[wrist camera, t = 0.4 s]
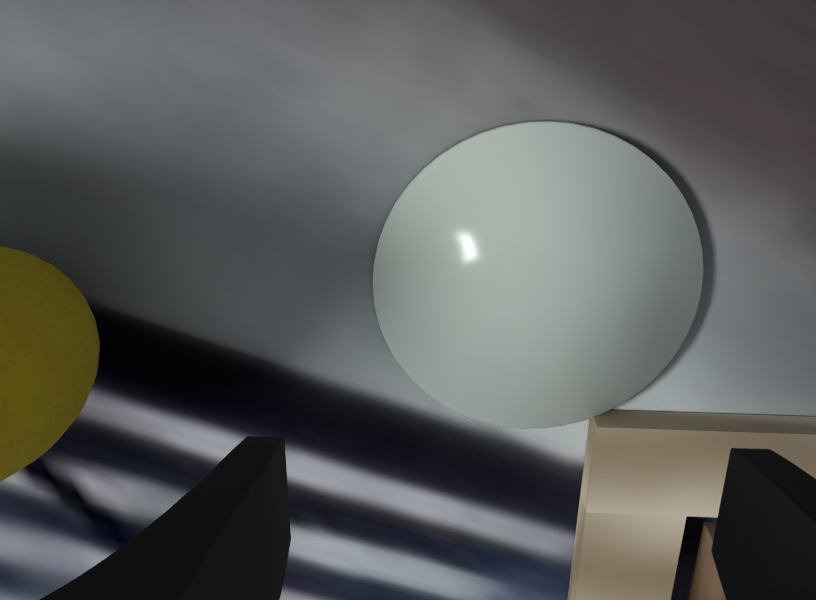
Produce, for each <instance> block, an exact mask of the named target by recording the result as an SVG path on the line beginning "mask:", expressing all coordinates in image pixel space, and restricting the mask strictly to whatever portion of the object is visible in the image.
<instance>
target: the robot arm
mask: <svg viewBox="0 0 816 600" xmlns="http://www.w3.org/2000/svg"><path fill="white" fill-rule="evenodd" d="M290 541H291V534H290V518H289V503H288V487H287V472H286V457H285V441H284V437H254V436H247V437H246V438H245V439H244V440H243V441H242V442H241V443H240V444H238V445H237V446H236V447H235V448H234V449H233V450H232V451H231V452H230V453H229V454H228V455H227V456H226V457H225V458H224V459H223V460H222V461H221V462H219V463H218V464H217V465H216V466H215V467H214V468H213V469H212V470H211V471H210V472H209V473H208V474H207V475H206V476H205V477H204V478H203V479H202V480H201V481H200V482H199V483H197V484H196V485H195V486H194V487H193V488H192V489H191V490H190V491H189V492H188V493H186V494H185V495H184V496H183V497H182V498H181V499H180V500H179V501H178V502H177V503H175V504H174V505H173V506H172V507H171V508H170V509H169V510H167V511H166V512H165V513H164V514H163V515H161V516H160V517H159V518H158V519H156V520H155V521H154V522H153V523H152V524H150V525H149V526H148V527H147V528H145V529H144V530H143V531H142V532H141V533H139V534H138V535H137V536H136V537H134V538H133V539H132V540H131V541H129V542H128V543H127V544H125V545H124V546H123V547H121V548H120V549H118V550H117V551H116V552H114V553H113V554H111V555H110V556H109V557H107V558H106V559H104V560H103V561H101V562H100V563H98V564H97V565H95V566H94V567H92V568H91V569H89V570H88V571H86V572H85V573H83V574H82V575H81V576H79V577H77V578H76V579H74V580H73V581H71V582H69V583H68V584H66V585H64V586H63V587H61V588H59V589H57V590H56V591H54V592H52V593H50V594H49V595H47V596H45V597H43V598H42V599H40V600H279V599H280V595H281V590H282V585H283V580H284V575H285V570H286V564H287V558H288V552H289V547H290ZM711 552H712V555H713V559H714V562H715V565H716V569H717V572H718V575H719V579H720V582H721V585H722V588H723V591H724V594H725V597H726V600H816V479H815V478H814V477H812V476H811V475H809V474H808V473H806V472H805V471H803V470H802V469H801V468H799V467H798V466H796V465H795V464H793V463H792V462H790V461H789V460H787V459H785V458H784V457H782V456H781V455H779V454H777V453H776V452H774V451H772V450H770V449H749V448H731V450H730V455H729V460H728V466H727V471H726V476H725V481H724V487H723V492H722V497H721V502H720V507H719V513H718V518H717V523H716V528H715V534H714V539H713V544H712V549H711Z"/></svg>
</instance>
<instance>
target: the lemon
mask: <svg viewBox="0 0 816 600" xmlns="http://www.w3.org/2000/svg"><path fill="white" fill-rule="evenodd" d="M99 349H100V341H99V336H98V331H97V326H96V321H95V318H94V315H93V313H92V311H91V309H90V307H89V305H88V303H87V301H86V298H85V297H84V296H83V294H82V293H81V292H80V290H79V289H78V288H77V287H76V285H75V284H74V283H73V282H72V280H71V279H69V278H68V277H67V276H66V275H65V274H63V273H62V272H61V271H60V270H59V269H57V268H56V267H55V266H54V265H52V264H50V263H48V262H46V261H44V260H42V259H40V258H38V257H37V256H35V255H32V254H30V253H27V252H23V251H20V250H16V249H13V248H9V247H6V246H0V482H1V481H3V480H4V479H6V478H8V477H9V476H11V475H12V474H14V473H16V472H17V471H19V470H20V469H22V468H24V467H25V466H27V465H28V464H30V463H32V462H33V461H35V460H36V459H37V458H39V457H40V456H41V455H43V454H44V453H45V452H46V451H47V450H48V449H50V448H51V447H52V446H53V445H54V444H55V443H56V441H57V440H58V439H59V438H60V437H61V436H62V435H63V433H64V432H65V431H66V430H67V429H68V427H69V426H70V425H71V424H72V423H73V421H74V420H75V419H76V418H77V416H78V415H79V413H80V412H81V410H82V408H83V407H84V404H85V402H86V400H87V397H88V395H89V393H90V390H91V388H92V385H93V383H94V380H95V378H96V374H97V370H98V360H99Z"/></svg>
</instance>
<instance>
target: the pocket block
mask: <svg viewBox="0 0 816 600" xmlns="http://www.w3.org/2000/svg"><path fill="white" fill-rule="evenodd" d="M731 448H749V449H770V450H772V451H774V452H776V453H777V454H779V455H781V456H782V457H784V458H785V459H787V460H789V461H790V462H792V463H793V464H795V465H796V466H798V467H799V468H801V469H802V470H803V471H805V472H806V473H808V474H809V475H811V476H812V477H814V478H815V479H816V417H807V416H778V415H748V414H718V413H688V412H658V411H628V410H608V411H606V412H604V413H602V414H600V415H597V416H593V417H592V418H590V421H589V429H588V437H587V445H586V454H585V462H584V470H583V478H582V486H581V494H580V502H579V510H578V518H577V526H576V534H575V542H574V551H573V559H572V567H571V575H570V583H569V591H568V599H567V600H671V596H672V590H673V585H674V580H675V575H676V569H677V564H678V559H679V554H680V548H681V543H682V538H683V533H684V527H685V522H686V517H687V516H691V517H718V513H719V507H720V502H721V497H722V492H723V487H724V481H725V476H726V471H727V466H728V460H729V455H730V450H731Z"/></svg>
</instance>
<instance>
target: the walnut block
mask: <svg viewBox="0 0 816 600" xmlns="http://www.w3.org/2000/svg"><path fill="white" fill-rule="evenodd" d="M716 523H717V522H704V524H703V529H702V534H701V539H700V544H699V548H698V553H697V558H696V563H695V568H694V573H693V578H692V583H691V588H690V593H689V598H688V600H726V597H725V594H724V591H723V588H722V585H721V582H720V579H719V575H718V572H717V569H716V565H715V562H714V559H713V555H712V552H711V549H712V544H713V539H714V534H715V528H716Z"/></svg>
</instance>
